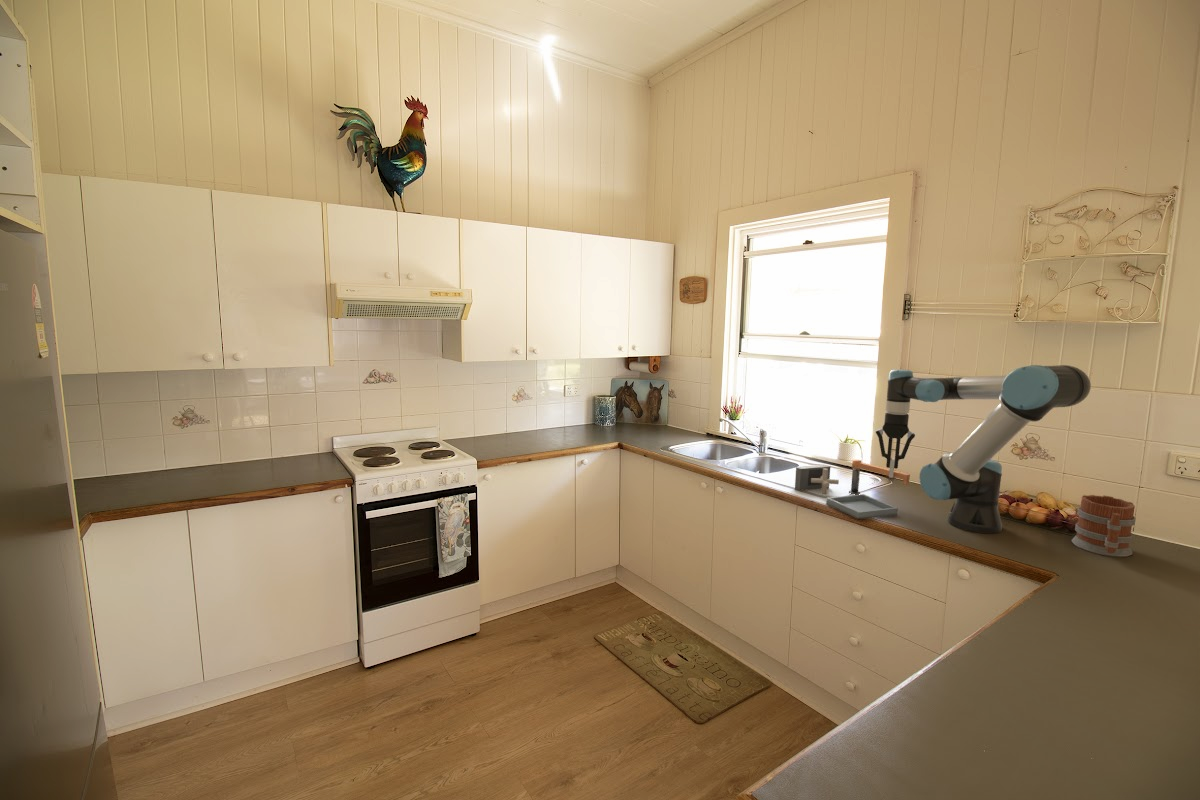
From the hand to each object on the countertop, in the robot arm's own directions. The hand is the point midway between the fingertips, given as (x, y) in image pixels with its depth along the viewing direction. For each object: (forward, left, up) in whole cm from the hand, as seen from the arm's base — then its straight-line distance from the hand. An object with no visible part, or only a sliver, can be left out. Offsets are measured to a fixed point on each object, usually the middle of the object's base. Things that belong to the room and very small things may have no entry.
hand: (891, 476), depth 208 cm
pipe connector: (+20, +13, -12) cm, 26 cm away
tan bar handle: (+7, -1, -2) cm, 7 cm away
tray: (0, +12, -11) cm, 17 cm away
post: (+16, +1, -11) cm, 20 cm away
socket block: (+27, +13, -11) cm, 32 cm away
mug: (-50, -32, -12) cm, 61 cm away
